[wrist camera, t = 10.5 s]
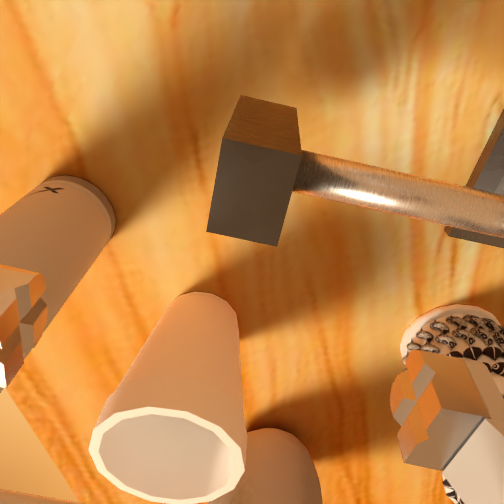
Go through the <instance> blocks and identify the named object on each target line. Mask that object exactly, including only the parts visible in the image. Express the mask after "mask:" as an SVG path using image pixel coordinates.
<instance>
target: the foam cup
mask: <svg viewBox="0 0 504 504" xmlns="http://www.w3.org/2000/svg"><path fill="white" fill-rule="evenodd" d="M247 438H248V436H247V430H246V425H245V419H244V414H243V398H242V380H241V361H240V343H239V329H238V321H237V315H236V312H235V311H234V310H233V308H232V307H231V306H230V305H229V303H228V302H227V301H225V300H223V299H222V298H220V297H218V296H216V295H214V294H212V293H204V292H197V291H195V292H191V293H187V294H183V295H180V296H178V297H177V298H176V299H175V300H174V301H172V302H171V303H170V304H169V306H168V308H166V310H165V311H164V313H163V315H162V316H161V318H160V320H159V321H158V323H157V324H156V326H155V328H154V329H153V331H152V332H151V334H150V336H149V337H148V339H147V341H146V342H145V344H144V345H143V347H142V349H141V350H140V352H139V353H138V355H137V357H136V358H135V360H134V362H133V363H132V365H131V366H130V368H129V370H128V371H127V373H126V374H125V376H124V378H123V379H122V381H121V383H120V384H119V386H118V387H117V389H116V391H115V392H114V393H112V394H111V395H110V396H108V398H107V400H106V402H105V405H104V407H103V409H102V411H101V414H100V416H99V418H98V421H97V423H96V425H95V427H94V430H93V434H92V438H91V442H90V446H89V453H90V455H91V457H92V459H93V461H94V463H95V465H96V468H97V470H98V472H100V473H101V474H102V475H103V476H104V477H106V478H107V479H108V480H109V481H111V482H112V483H113V484H114V485H116V486H117V487H118V488H119V489H121V490H123V491H126V492H128V493H131V494H133V495H136V496H138V497H141V498H143V499H146V500H148V501H152V502H160V503H168V504H194V503H202V502H209V501H213V500H214V499H216V498H218V497H220V496H222V495H224V494H226V493H228V492H229V491H231V490H233V489H234V488H235V486H236V485H237V483H238V481H239V480H240V478H241V476H242V474H243V473H244V471H245V462H246V450H247Z"/></svg>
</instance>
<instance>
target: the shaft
mask: <svg viewBox="0 0 504 504" xmlns="http://www.w3.org/2000/svg"><path fill="white" fill-rule="evenodd" d="M292 192H295V193H299V194H304V195H309V196H313V197H318V198H322V199H327V200H332V201H336V202H341V203H345V204H350V205H354V206H359V207H364V208H368V209H373V210H377V211H382V212H386V213H391V214H396V215H400V216H405V217H409V218H414V219H418V220H423V221H428V222H432V223H437V224H441V225H446V226H451V227H455V228H460V229H464V230H469V231H473V232H478V233H483V234H487V235H492V236H496V237H501V238H504V195H501V194H497V193H492V192H488V191H483V190H479V189H474V188H470V187H465V186H461V185H456V184H452V183H447V182H443V181H438V180H434V179H430V178H425V177H421V176H416V175H412V174H407V173H403V172H398V171H394V170H389V169H385V168H380V167H376V166H371V165H367V164H362V163H358V162H354V161H349V160H345V159H340V158H336V157H331V156H327V155H322V154H318V153H313V152H309V151H304V150H301V144H300V135H299V127H298V118H297V109H296V108H294V107H290V106H285V105H281V104H276V103H272V102H268V101H263V100H259V99H255V98H250V97H246V96H241V97H240V99H239V101H238V103H237V106H236V108H235V110H234V113H233V115H232V117H231V120H230V122H229V124H228V127H227V129H226V131H225V134H224V136H223V138H222V144H221V150H220V156H219V162H218V167H217V173H216V179H215V185H214V191H213V196H212V202H211V208H210V214H209V220H208V225H207V231H206V232H211V233H216V234H220V235H225V236H230V237H235V238H239V239H244V240H249V241H253V242H258V243H263V244H268V245H272V246H277V244H278V241H279V237H280V233H281V230H282V226H283V222H284V219H285V215H286V211H287V208H288V204H289V201H290V197H291V193H292Z"/></svg>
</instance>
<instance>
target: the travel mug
mask: <svg viewBox="0 0 504 504" xmlns="http://www.w3.org/2000/svg"><path fill="white" fill-rule="evenodd" d="M114 230H115V214H114V210H113V208H112V206H111V204H110V202H109V201H108V199H107V197H106V196H105V195H104V194H103V193H102V192H101V191H100V190H99V189H98V188H97V187H95V186H94V185H93V184H91V183H89V182H87V181H86V180H83V179H80V178H78V177H73V176H55V177H51V178H49V179H47V180H45V181H44V182H42V183H41V184H40V185H38V186H37V187H36V188H35V189H33V190H32V191H31V192H29V193H28V194H27V195H25V196H24V197H23V198H22V199H20V200H19V201H18V202H16V203H15V204H14V205H12V206H11V207H10V208H9V209H7V210H6V211H5V212H3V213H2V214H1V215H0V264H2V265H6V266H11V267H15V268H20V269H24V270H28V271H33V272H37V273H41V274H42V275H43V276H45V283H46V290H45V291H44V293H43V294H42V295H41V298H42V299H43V300H44V302H45V303H46V304H47V310H48V315H47V322H46V326H45V329H44V331H45V330H46V328H47V327H48V325H49V324H50V323H51V321H52V320H53V318H54V317H55V316H56V314H57V313H58V311H59V310H60V309H61V307H62V306H63V304H64V303H65V302H66V300H67V299H68V297H69V296H70V295H71V293H72V292H73V290H74V289H75V288H76V286H77V285H78V283H79V282H80V281H81V279H82V278H83V276H84V275H85V274H86V272H87V271H88V269H89V268H90V267H91V265H92V264H93V263H94V261H95V260H96V258H97V257H98V256H99V254H100V253H101V251H102V250H103V248H104V247H105V246H106V244H107V243H108V242H109V240H110V239H111V237H112V235H113V233H114ZM44 331H43V332H44ZM30 351H31V349H30V350H28V351H26V352H24V353H23V359H25V358H26V356H27V355H28V353H29V352H30ZM3 388H4V387H0V393H1V391H2V390H3Z"/></svg>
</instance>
